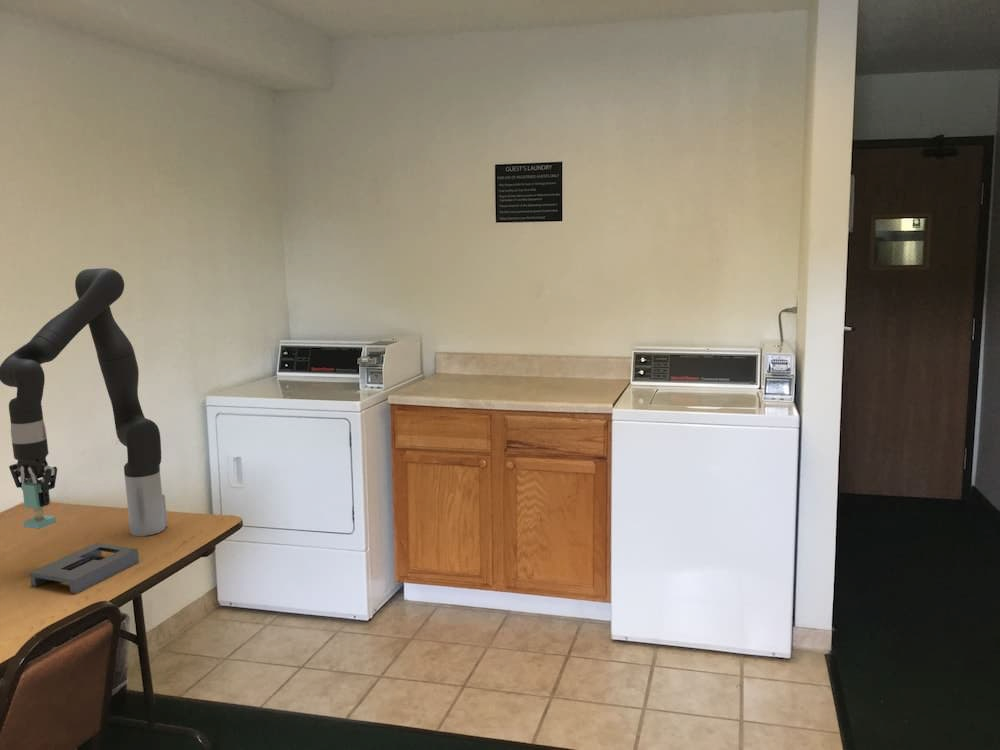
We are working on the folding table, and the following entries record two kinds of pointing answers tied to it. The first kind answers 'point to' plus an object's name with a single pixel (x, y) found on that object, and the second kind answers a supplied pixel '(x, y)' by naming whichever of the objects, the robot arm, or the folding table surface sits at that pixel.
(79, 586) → the keyhole plate
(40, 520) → the teal stud
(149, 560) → the folding table surface
